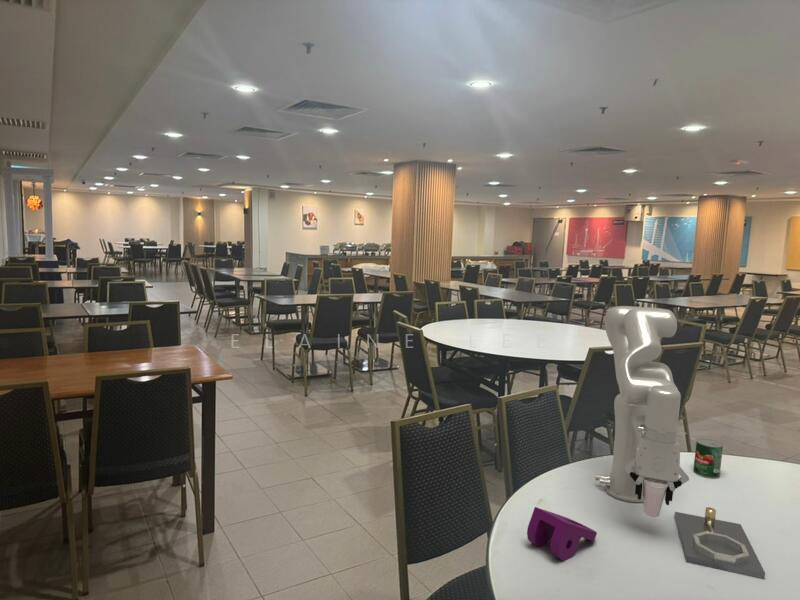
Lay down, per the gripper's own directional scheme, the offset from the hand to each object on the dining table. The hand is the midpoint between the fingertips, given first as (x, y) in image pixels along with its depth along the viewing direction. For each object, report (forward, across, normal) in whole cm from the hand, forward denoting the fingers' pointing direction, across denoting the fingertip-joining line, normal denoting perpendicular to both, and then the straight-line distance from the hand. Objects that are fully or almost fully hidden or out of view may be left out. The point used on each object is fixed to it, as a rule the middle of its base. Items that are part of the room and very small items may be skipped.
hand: (652, 499), depth 140 cm
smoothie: (+4, 0, 0) cm, 4 cm away
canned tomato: (+11, +21, +52) cm, 57 cm away
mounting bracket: (+9, -20, -15) cm, 27 cm away
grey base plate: (+9, +15, +1) cm, 18 cm away
